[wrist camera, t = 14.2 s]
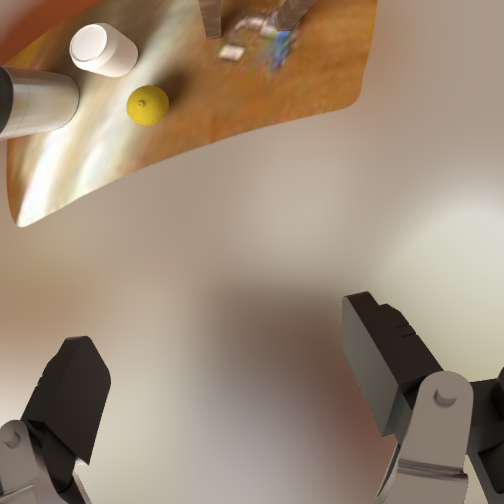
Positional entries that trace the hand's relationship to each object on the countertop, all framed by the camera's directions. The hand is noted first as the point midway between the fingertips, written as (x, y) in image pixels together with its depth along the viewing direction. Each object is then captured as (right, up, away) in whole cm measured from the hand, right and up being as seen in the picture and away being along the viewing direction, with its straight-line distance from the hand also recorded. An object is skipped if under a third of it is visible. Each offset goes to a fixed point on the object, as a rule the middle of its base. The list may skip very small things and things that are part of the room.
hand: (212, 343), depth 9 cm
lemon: (-13, +24, +30) cm, 40 cm away
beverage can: (-18, +31, +26) cm, 44 cm away
